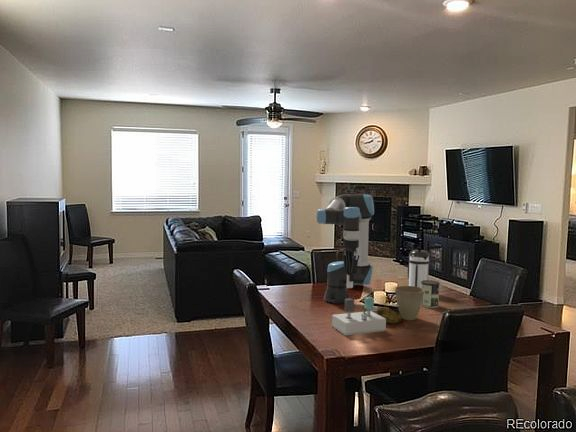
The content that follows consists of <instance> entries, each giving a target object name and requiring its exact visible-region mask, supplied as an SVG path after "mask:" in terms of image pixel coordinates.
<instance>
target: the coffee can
mask: <svg viewBox="0 0 576 432" xmlns="http://www.w3.org/2000/svg"><path fill="white" fill-rule="evenodd" d="M421 288H422V289H424V295H423V300H422V304H421V307H423V308H428V309H436V308H439V301H440V299H439V298H440V282H439V281H436V280H430V279H428V280H424V281H421Z"/></svg>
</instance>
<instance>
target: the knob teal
mask: <svg viewBox="0 0 576 432" xmlns="http://www.w3.org/2000/svg"><path fill="white" fill-rule="evenodd" d="M374 301H375V299H374V297H372V296H365V297H364V306H363V307H364V309H365V310H366V309H367V310H366V312H367V317H370V311H372V310H373V309H374Z"/></svg>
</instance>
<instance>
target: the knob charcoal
mask: <svg viewBox="0 0 576 432" xmlns="http://www.w3.org/2000/svg"><path fill="white" fill-rule="evenodd" d="M344 310H345V311H347V313H346V314H347V319H351V313H352V312H353V311H354V310H355V299H353V298H349V299H345V303H344Z"/></svg>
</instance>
